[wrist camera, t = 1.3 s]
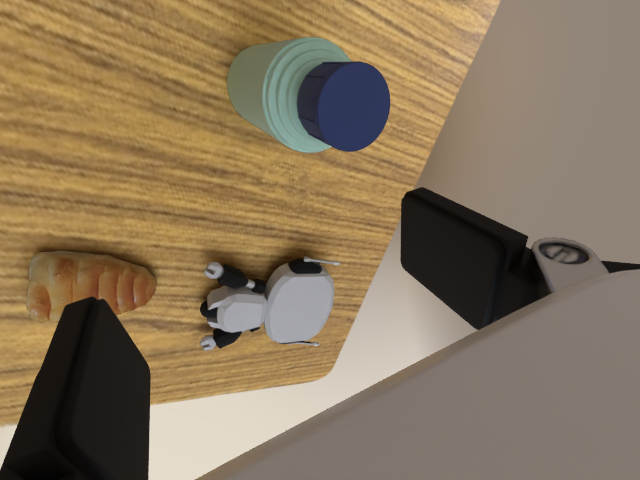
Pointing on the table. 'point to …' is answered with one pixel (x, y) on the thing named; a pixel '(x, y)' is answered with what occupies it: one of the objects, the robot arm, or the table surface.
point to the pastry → (84, 283)
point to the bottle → (279, 86)
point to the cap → (344, 104)
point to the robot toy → (269, 303)
